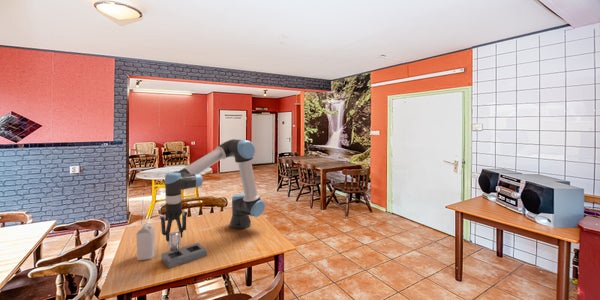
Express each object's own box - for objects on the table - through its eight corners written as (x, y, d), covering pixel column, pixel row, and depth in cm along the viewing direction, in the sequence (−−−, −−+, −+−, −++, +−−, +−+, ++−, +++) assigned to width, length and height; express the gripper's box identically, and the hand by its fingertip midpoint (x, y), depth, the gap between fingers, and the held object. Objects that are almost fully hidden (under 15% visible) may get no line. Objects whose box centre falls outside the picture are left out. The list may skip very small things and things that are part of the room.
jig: (198, 248, 157) (197, 242, 157) (207, 255, 148) (206, 249, 148) (161, 259, 143) (161, 253, 143) (169, 268, 134) (169, 261, 134)
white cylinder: (177, 247, 145) (177, 231, 144) (180, 249, 142) (180, 233, 141) (168, 249, 142) (168, 233, 141) (171, 252, 138) (171, 235, 138)
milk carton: (137, 260, 142) (135, 226, 140) (141, 254, 148) (139, 221, 147) (152, 259, 144) (150, 225, 142) (155, 253, 150) (154, 220, 149)
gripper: (187, 198, 148) (188, 238, 150) (153, 203, 136) (154, 247, 138) (192, 200, 143) (193, 242, 145) (157, 207, 131) (159, 252, 133)
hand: (174, 245), depth 141 cm, fingers closed on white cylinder, 4 cm apart
